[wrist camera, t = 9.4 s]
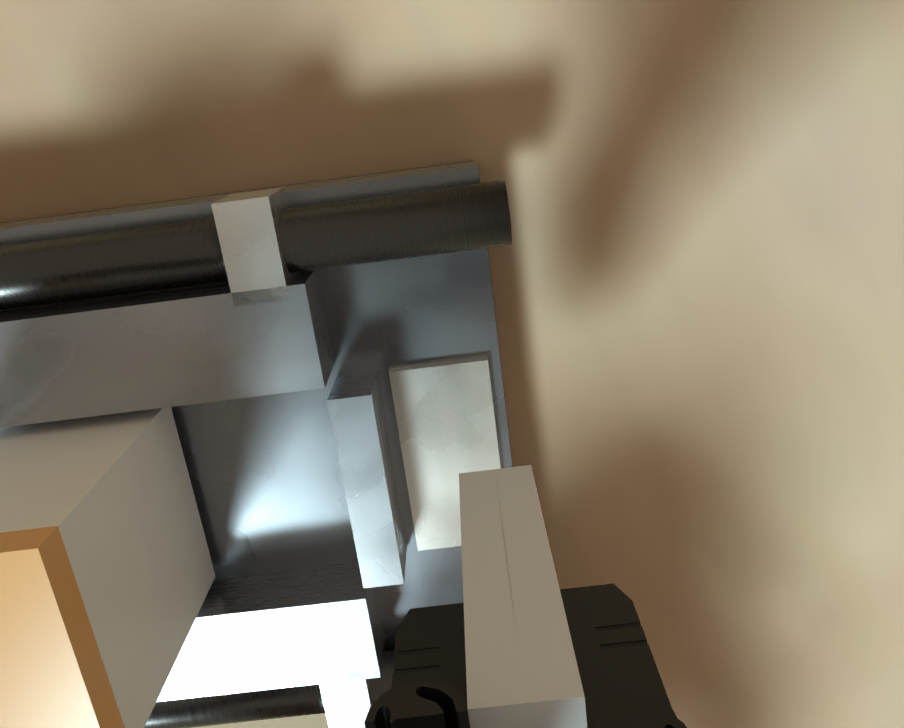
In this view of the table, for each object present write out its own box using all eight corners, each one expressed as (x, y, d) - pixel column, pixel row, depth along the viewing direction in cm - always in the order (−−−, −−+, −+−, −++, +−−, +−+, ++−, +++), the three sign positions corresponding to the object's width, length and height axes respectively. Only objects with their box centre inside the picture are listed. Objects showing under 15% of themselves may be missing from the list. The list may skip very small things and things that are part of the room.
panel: (-257, 728, 25) (-352, 815, 22) (-494, 283, 20) (-656, 317, 17) (547, 639, 24) (561, 717, 21) (496, 153, 19) (505, 165, 16)
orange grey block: (65, 595, 21) (-96, 810, 15) (5, 418, 19) (-206, 576, 13) (217, 577, 21) (120, 786, 15) (170, 398, 19) (37, 548, 13)
